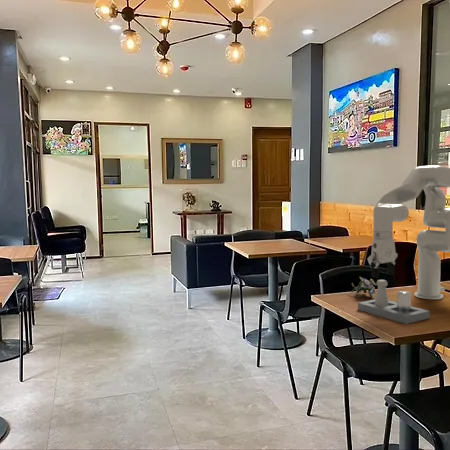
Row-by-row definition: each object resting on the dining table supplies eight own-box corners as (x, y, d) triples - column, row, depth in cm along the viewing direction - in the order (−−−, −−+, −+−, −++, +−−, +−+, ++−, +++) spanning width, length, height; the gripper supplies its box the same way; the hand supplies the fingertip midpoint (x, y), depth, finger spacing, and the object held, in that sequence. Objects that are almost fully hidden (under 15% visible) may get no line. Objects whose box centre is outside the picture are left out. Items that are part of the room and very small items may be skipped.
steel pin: (402, 314, 181) (402, 290, 180) (413, 317, 176) (413, 292, 175) (394, 316, 178) (394, 292, 177) (404, 319, 174) (405, 294, 173)
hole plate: (380, 305, 196) (380, 298, 195) (429, 318, 175) (429, 310, 175) (357, 309, 189) (357, 302, 188) (406, 324, 168) (406, 316, 168)
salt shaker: (385, 313, 183) (386, 282, 182) (372, 310, 186) (372, 280, 185) (390, 310, 187) (391, 280, 186) (377, 308, 191) (378, 278, 190)
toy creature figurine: (371, 308, 209) (378, 292, 202) (348, 303, 212) (353, 287, 204) (372, 291, 218) (378, 274, 210) (350, 286, 220) (355, 269, 212)
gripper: (375, 238, 176) (375, 280, 178) (404, 234, 185) (404, 274, 187) (361, 236, 183) (361, 276, 185) (389, 232, 192) (389, 271, 193)
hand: (382, 275), depth 186 cm, fingers open, 9 cm apart
